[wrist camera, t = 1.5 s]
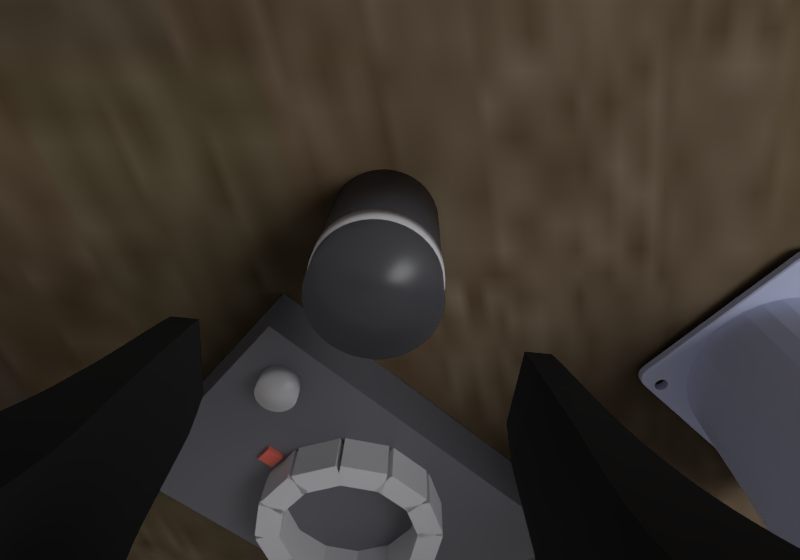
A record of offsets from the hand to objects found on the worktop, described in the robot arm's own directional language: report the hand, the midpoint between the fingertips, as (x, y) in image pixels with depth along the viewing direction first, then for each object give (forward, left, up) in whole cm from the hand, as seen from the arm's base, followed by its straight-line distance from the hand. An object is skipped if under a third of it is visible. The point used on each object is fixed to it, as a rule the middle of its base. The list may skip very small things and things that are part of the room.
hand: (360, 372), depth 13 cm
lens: (0, 0, -10) cm, 10 cm away
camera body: (-7, +10, -10) cm, 16 cm away
